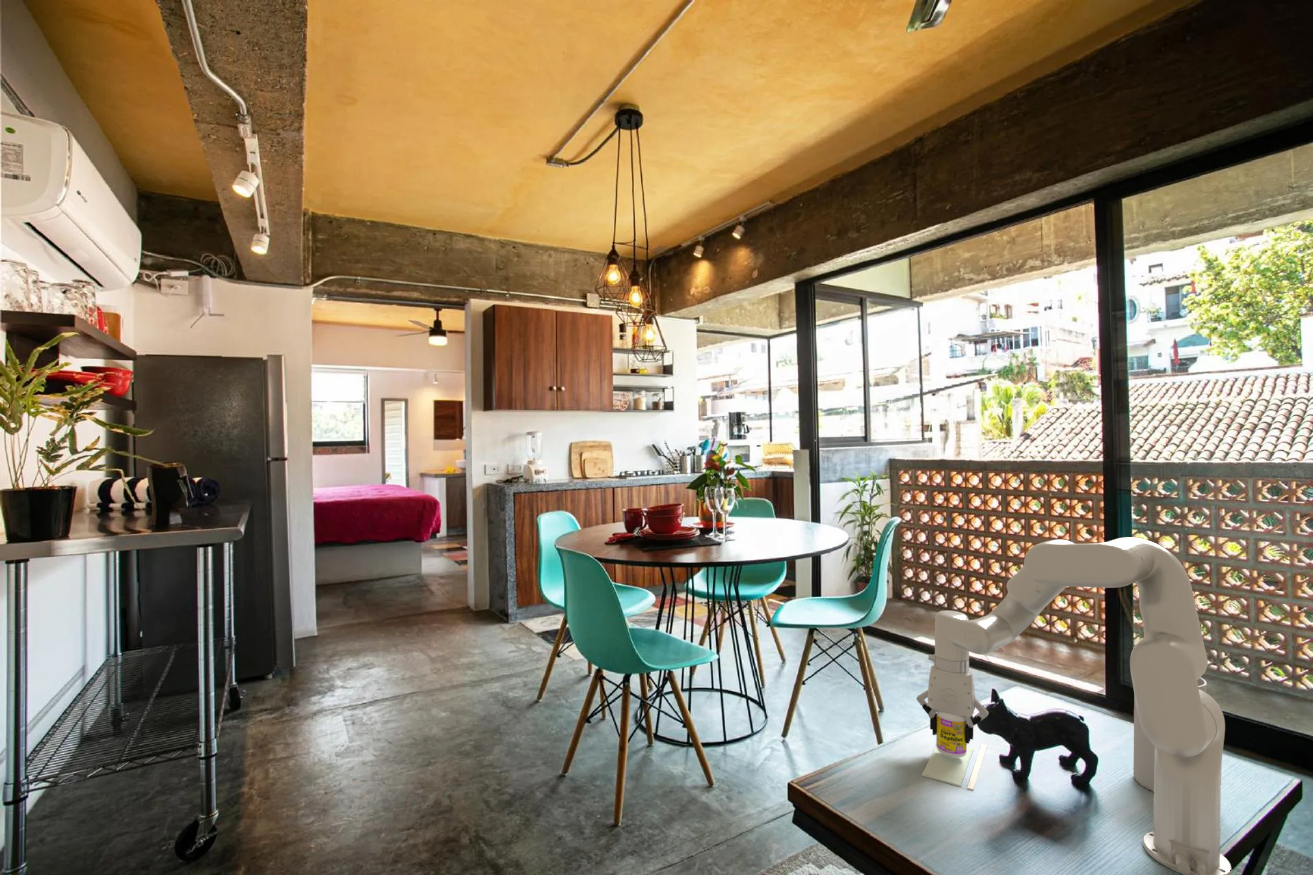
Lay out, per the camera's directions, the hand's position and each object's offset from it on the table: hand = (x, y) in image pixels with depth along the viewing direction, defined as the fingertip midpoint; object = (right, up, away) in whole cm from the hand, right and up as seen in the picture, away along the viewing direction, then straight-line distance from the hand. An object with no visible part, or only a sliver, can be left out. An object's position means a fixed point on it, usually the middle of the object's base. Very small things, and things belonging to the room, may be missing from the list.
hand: (951, 736), depth 152 cm
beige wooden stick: (+5, -6, -3) cm, 8 cm away
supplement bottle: (0, -4, 0) cm, 4 cm away
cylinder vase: (+43, -6, -11) cm, 45 cm away
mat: (-1, -5, -1) cm, 6 cm away
